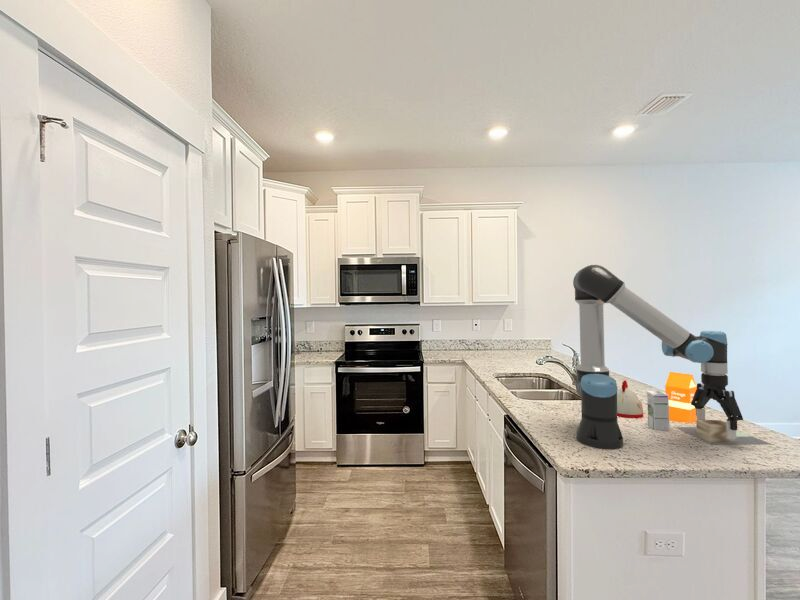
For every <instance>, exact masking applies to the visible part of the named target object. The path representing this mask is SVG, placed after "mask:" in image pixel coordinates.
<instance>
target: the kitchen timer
mask: <svg viewBox="0 0 800 600" xmlns="http://www.w3.org/2000/svg"><path fill="white" fill-rule="evenodd" d="M628 385H629V384H628V382H627V380H625V379H624V380H623V381H622V384H621V387H620V388H618V390H617V416H618V417H619V418H624V419H634V418H635V419H642V418H644V407H643V402H642V399H640V398H639V397H638V395H637V393H635V392H634V391H633V390H632V389H630V388H629V386H628ZM618 417H617V418H618Z"/></svg>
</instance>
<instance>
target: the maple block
mask: <svg viewBox="0 0 800 600" xmlns="http://www.w3.org/2000/svg"><path fill="white" fill-rule="evenodd" d="M695 423H696V426H695V427H697V437H699V438H702V439H704V440H706V441H708V442H735V439H727V428H726V421H725V420H722V419H705V420H696V422H695Z"/></svg>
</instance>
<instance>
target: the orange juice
mask: <svg viewBox="0 0 800 600" xmlns="http://www.w3.org/2000/svg"><path fill="white" fill-rule="evenodd" d="M695 381H696V380H695V378H694V376H693V374H689V373H681V372H673V371H669V372H668V376H667V379H666V383H665V386H664V388H665V389H664V391H665V392H664V393H666V394H668V399H669V421H671V420H672V422H675V423H676V422H677V423H687V424H692V423H696V420H697V416H696V408H695V407H694V406H693V405H691V402H692V399H693V397H694V394H695V392H696V389H697V383H696V382H695Z"/></svg>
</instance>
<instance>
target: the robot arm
mask: <svg viewBox="0 0 800 600" xmlns="http://www.w3.org/2000/svg"><path fill="white" fill-rule="evenodd" d="M572 284H573V288H574V300H575V302H576V303H577V304H578V306H579V309H578V311H579V344H580V345H579V349H580V350H579V351H580V356H579V357H580V364H579V365H578V366H577V367H576V380H575V390H576V391H577V392H576V393H578V395H579V397H580V403H581V404H580V405H581V406H580V407H581V410H580V411H581V419H580V421H579V425H578V427H577V430H576V440H577V442H579V443H581V444H584V445H587V446H590V447H593V448H598V449H620V448H623V446H624V436H623V435H622V431H621V428H620V425H619V422H618V417H617V390H618V389H619V388H618V384H617V380H616V379H615V377H614V378H613V377H612V376H610V370H609V368H608V367H607V366H606V365H605V364H606V363H605V325H604V324H605V323H604V321H605V320H604V305H605V304H611V306H613V307H615V308H616V309H618V310H619V312H622V313H623V314H624V315H625V316H627V317H628V318H630V319H631V320H632V321H634V322H635V323H637V324H638V325H640V326H641V327H642V328H643V329H645V330H647V331H648V332H650V333H651V334H652V335H653V336H655V337H657V338H658V339H659V340H660V341H661V351H662V354H663V355H664V356H666V357H672V358H674V357H679V358H682V359H685V360H688V361H690V362H692V363H698V364H700V371H701V372H702V373H701V375H700V378H701V379H700V380H701V381H700V382H699V383H698V382H697V383H696V387H697V389H696V392H695V394H694V397H693V399H692V402H691V405H693V406H694V407H695V408H696V416H697V420H706V409H705V406H706V405H707V404H708V402H709V401H710V400H711V399H712V400H713V401H716V402H717V403H718V404H719V406H720V407H721V409H722V410H723V412H724V413H725V415H726V417H727V418H726V421H725V422H726V428H727V439H736V430H737V431H738V421H743V420H744V418H743V415H742V412H741V410H740V407H739V405H738V403H737V400H736V398H735V391H734V390H727V389H726V387H727V386H728V385H729V376H728V375H727V374H728V338H727V333H725V332H724V331H721V330H720V331H719V330H703V331H702V330H701V331H700V334H699V336H696V335H694V334H693V333H691V332H689V330H687V329H686V328H684V327H683V326H681V325H680V324H679V323H677V322H676V321H675V320H672V319H671V318H670V317H668V316H667V315H666V314H664V313H663V312H661V310H658V309H657V308H656V307H654V306H653V305H651V304H650V303H649V302H647V301H646V300H644V299H643V298H641V297H640V296H639V295H638V294H636V293H635V292H633V291H631V290H630V289H629V288H628V287H626V283H625V281H622V279H620V278H619V277H617V276H616V275H615V274H613V273H612V272H611V271H610V270H608V268H606V267H604V266H602V265H599V264H591V265H587V266H585V267H583V268H581V269H580V270H578V271H577V272H576V273H575V274H574V278H573V280H572Z"/></svg>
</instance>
